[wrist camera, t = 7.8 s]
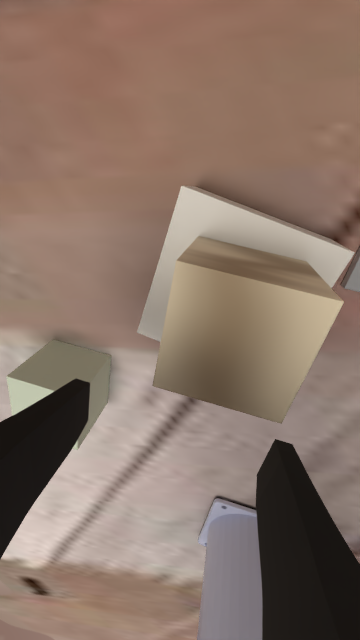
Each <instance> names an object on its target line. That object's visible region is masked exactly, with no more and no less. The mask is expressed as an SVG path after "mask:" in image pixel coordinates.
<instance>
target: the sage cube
mask: <svg viewBox="0 0 360 640" xmlns="http://www.w3.org/2000/svg"><path fill="white" fill-rule="evenodd" d="M110 366H111V355H107V354H104V353H100V352H96V351H93V350H89V349H86V348H82V347H78V346H75V345H71V344H68V343H64V342H61V341H57V340H52V341H51V342H49V343H48V344H47V345H45V346H44V347H43V348H42V349H40V350H39V351H38V352H37V353H35V354H34V355H33V356H32V357H30V358H29V359H28V360H26V361H25V362H24V363H23V364H21V365H20V366H19V367H18V368H16V369H15V370H14V371H13V372H11V373H10V374H9V375H7V376H6V377H7V384H8V390H9V397H10V404H11V410H12V416H13V415H15V414H17V413H18V412H20V411H22V410H24V409H25V408H27V407H29V406H30V405H32V404H34V403H36V402H37V401H39V400H41V399H42V398H44V397H46V396H47V395H49V394H51V393H52V392H54V391H56V390H57V389H59V388H60V387H62V386H64V385H65V384H67V383H69V382H70V381H72V380H74V379H80V380H83V381H86V382H90V398H89V416H88V422H87V424H86V425H85V427H84V429H83V431H82V433H81V435H80V436H79V438H78V440H77V442H76V444H75V445H74V447H73V449H76V450H78V448H79V447H80V445H81V444H82V442H83V440H84V439H85V437H86V436H87V434H88V433H89V431H90V429H91V428H92V426H93V425H94V423H95V422H96V420H97V418H98V417H99V415H100V414H101V412H102V411H103V409H104V407H105V406H106V404H107V403H108V392H109V379H110Z"/></svg>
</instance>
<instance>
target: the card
mask: <svg viewBox="0 0 360 640" xmlns="http://www.w3.org/2000/svg"><path fill="white" fill-rule="evenodd" d="M341 286H342V287H343V288H344V289H349V290H353V291H357V292H360V247H359V249H358V251H357V253H356V255H355V257H354V259H353V261H352V263H351V265H350V267H349V269H348V272H347V274H346V276H345V278H344V280H343V282H342V284H341Z"/></svg>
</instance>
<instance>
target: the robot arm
mask: <svg viewBox="0 0 360 640" xmlns="http://www.w3.org/2000/svg"><path fill="white" fill-rule="evenodd" d="M89 398H90V382H86V381H83V380H80V379H74V380H72V381H70V382H69V383H67V384H65V385H64V386H62V387H60V388H59V389H57V390H56V391H54V392H52V393H51V394H49V395H47V396H46V397H44V398H42V399H41V400H39V401H37V402H36V403H34V404H32V405H30V406H29V407H27V408H25V409H24V410H22V411H20V412H18V413H17V414H15V415H13V416H11V417H9V418H7V419H5V420H3V421H2V422H0V559H1V557H2V555H3V553H4V552H5V550H6V548H7V546H8V545H9V543H10V541H11V540H12V538H13V536H14V535H15V533H16V531H17V529H18V528H19V526H20V524H21V523H22V521H23V519H24V518H25V516H26V514H27V513H28V511H29V510H30V508H31V507H32V505H33V504H34V502H35V501H36V499H37V498H38V496H39V495H40V494H41V492H42V491H43V489H44V488H45V487H46V485H47V484H48V482H49V481H50V479H51V478H52V477H53V475H54V474H55V472H56V471H57V470H58V468H59V467H60V465H61V464H62V462H63V461H64V460H65V458H66V457H67V455H68V454H69V452H70V451H71V450H72V448H73V447H74V445H75V444H76V442H77V440H78V438H79V436H80V435H81V433H82V431H83V429H84V427H85V425H86V424H87V422H88V416H89ZM198 543H199V544H201V545H203V546H206V557H205V567H204V577H203V586H202V596H201V606H200V616H199V626H198V636H197V640H360V564H359V562H358V561H357V559H356V558H355V556H354V555H353V553H352V551H351V550H350V548H349V547H348V545H347V543H346V542H345V540H344V538H343V537H342V535H341V533H340V532H339V530H338V528H337V527H336V525H335V523H334V521H333V520H332V518H331V516H330V514H329V513H328V511H327V509H326V507H325V505H324V504H323V502H322V500H321V498H320V496H319V495H318V493H317V491H316V489H315V487H314V485H313V483H312V481H311V480H310V478H309V476H308V474H307V472H306V470H305V468H304V466H303V464H302V462H301V460H300V458H299V456H298V454H297V452H296V450H295V449H294V447H293V445H292V444H290V443H286V442H283V441H280V440H276V439H275V441H274V443H273V444H272V446H271V448H270V450H269V452H268V454H267V456H266V458H265V460H264V462H263V464H262V466H261V468H260V470H259V472H258V474H257V489H256V510H253V509H250V508H247V507H244V506H241V505H238V504H235V503H232V502H229V501H226V500H223V499H219V498H217V499H215V500H214V502H213V504H212V506H211V509H210V511H209V514H208V516H207V518H206V521H205V523H204V526H203V528H202V530H201V533H200V535H199V538H198Z"/></svg>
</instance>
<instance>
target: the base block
mask: <svg viewBox="0 0 360 640" xmlns="http://www.w3.org/2000/svg"><path fill="white" fill-rule="evenodd" d="M198 236H201V237H205V238H210V239H214V240H218V241H222V242H227V243H231V244H235V245H239V246H243V247H248V248H252V249H256V250H260V251H265V252H269V253H273V254H277V255H281V256H286V257H290V258H294V259H298V260H302V261H307V262H308V263H309V265H310V266H311V267H312V268H313V269H314V270H315V271H316V272H317V273H318V274H319V275H320V276H321V278H322V279H323V280H324V281H325V282H326V283H327V284H328V285H329V286H330V287H331V288H332V287H333V285H334V284H335V282H336V281H337V279H338V278H339V276H340V275H341V273H342V272H343V270H344V269H345V267H346V266H347V264H348V263H349V261H350V259H351V258H352V256H353V255H354V253H355V252H353V251H351V250H349V249H348V248H346V247H344V246H342V245H340V244H339V243H337V242H335V241H333V240H332V239H330V238H327V237H324V236H322V235H319V234H317V233H314V232H311V231H309V230H306V229H304V228H301V227H299V226H296V225H293V224H291V223H288V222H286V221H283V220H280V219H278V218H275V217H273V216H270V215H268V214H265V213H262V212H260V211H257V210H255V209H252V208H249V207H247V206H244V205H242V204H239V203H237V202H234V201H231V200H229V199H226V198H224V197H221V196H218V195H216V194H213V193H211V192H208V191H206V190H203V189H200V188H198V187H195V186H181V190H180V193H179V196H178V199H177V203H176V206H175V209H174V213H173V216H172V219H171V222H170V226H169V229H168V232H167V236H166V239H165V242H164V245H163V249H162V252H161V255H160V259H159V262H158V265H157V268H156V272H155V275H154V278H153V282H152V285H151V288H150V292H149V295H148V298H147V301H146V305H145V308H144V311H143V315H142V318H141V321H140V324H139V328H138V331H137V333H140V334H142V335H145V336H147V337H150V338H152V339H154V340H157V341H159V342H161V338H162V333H163V327H164V322H165V317H166V311H167V306H168V301H169V296H170V290H171V285H172V280H173V274H174V269H175V264H176V260H177V259H178V258H179V257H180V256H181V255H182V253H183V252H184V251H185V250H186V249H187V248H188V247H189V246H190V245H191V244H192V243H193V241H194V240H195V239H196V238H197V237H198Z"/></svg>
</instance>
